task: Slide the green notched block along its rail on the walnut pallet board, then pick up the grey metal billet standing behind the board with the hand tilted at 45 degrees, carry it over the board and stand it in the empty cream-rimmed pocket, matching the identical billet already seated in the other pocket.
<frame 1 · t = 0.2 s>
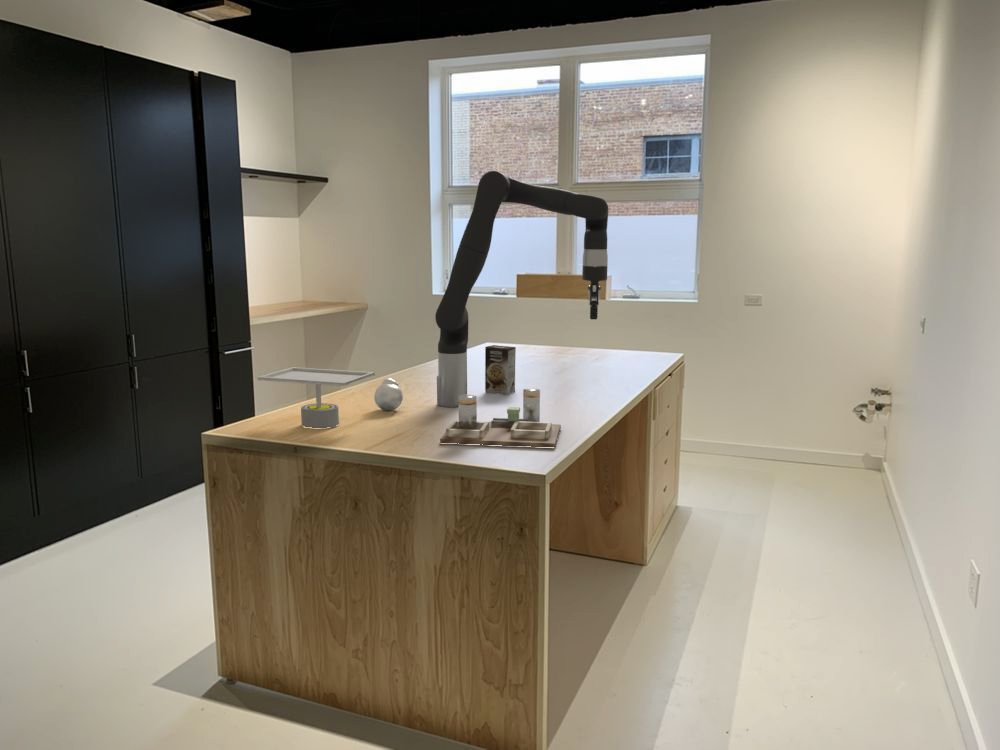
hand: (593, 317, 230), 29 cm above the table, tool pointing down, fingers open, 8 cm apart
grey rounded lump: (389, 410, 235), on the table
green notched block: (513, 416, 209), point 4 cm above the table, slide at 0.0 cm
solar panel model: (319, 426, 215), on the table
seated billet: (467, 432, 201), resting on pallet
coffee box: (500, 392, 262), on the table
pallet: (502, 436, 203), on the table
billet: (531, 423, 218), on the table
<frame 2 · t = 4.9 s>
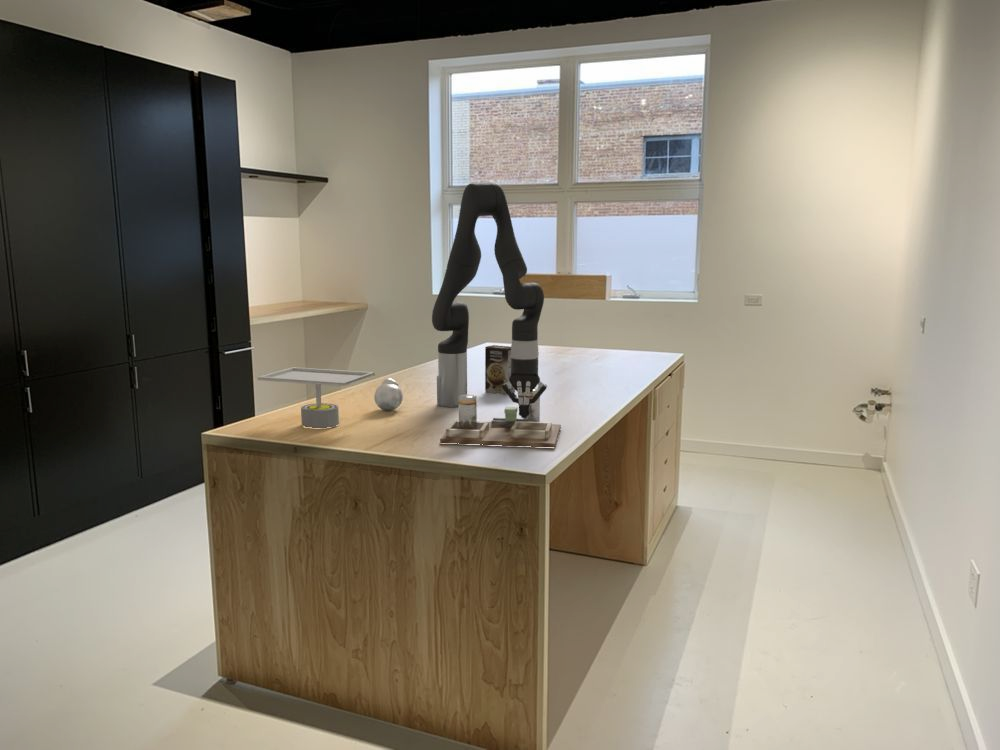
hand: (524, 417, 209), 4 cm above the table, tool pointing down, fingers closed
green notched block: (510, 416, 209), point 4 cm above the table, slide at 0.7 cm, touching gripper
everything else where it was.
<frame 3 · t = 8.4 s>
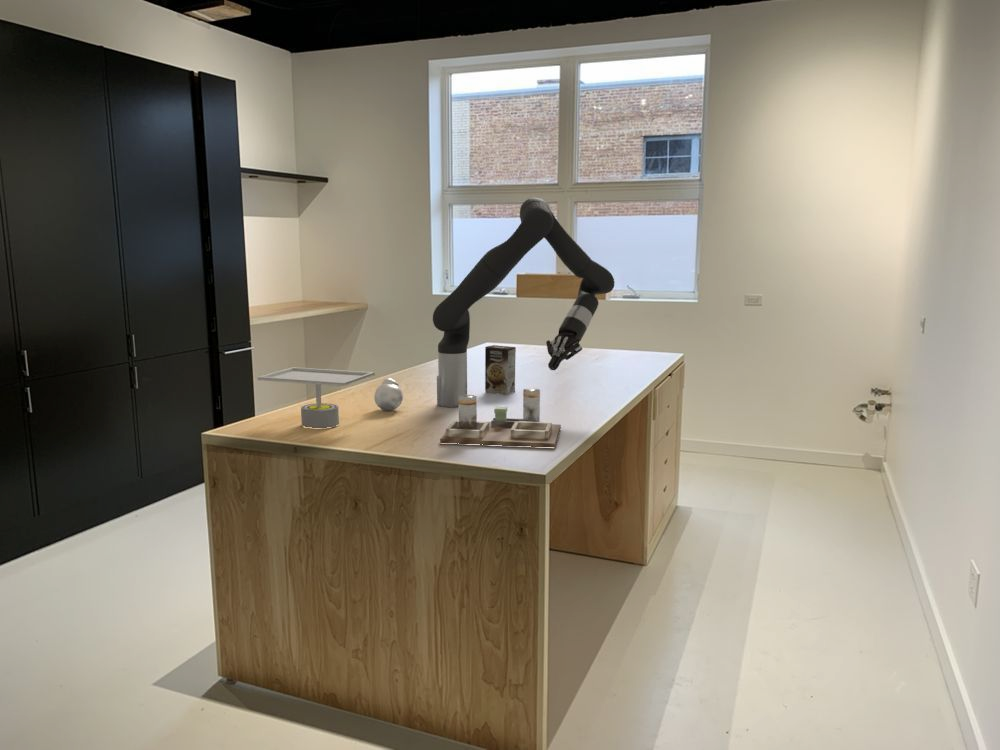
hand: (551, 368, 222), 15 cm above the table, tool tilted 45°, fingers closed
green notched block: (500, 416, 209), point 4 cm above the table, slide at 3.6 cm
everything else where it was.
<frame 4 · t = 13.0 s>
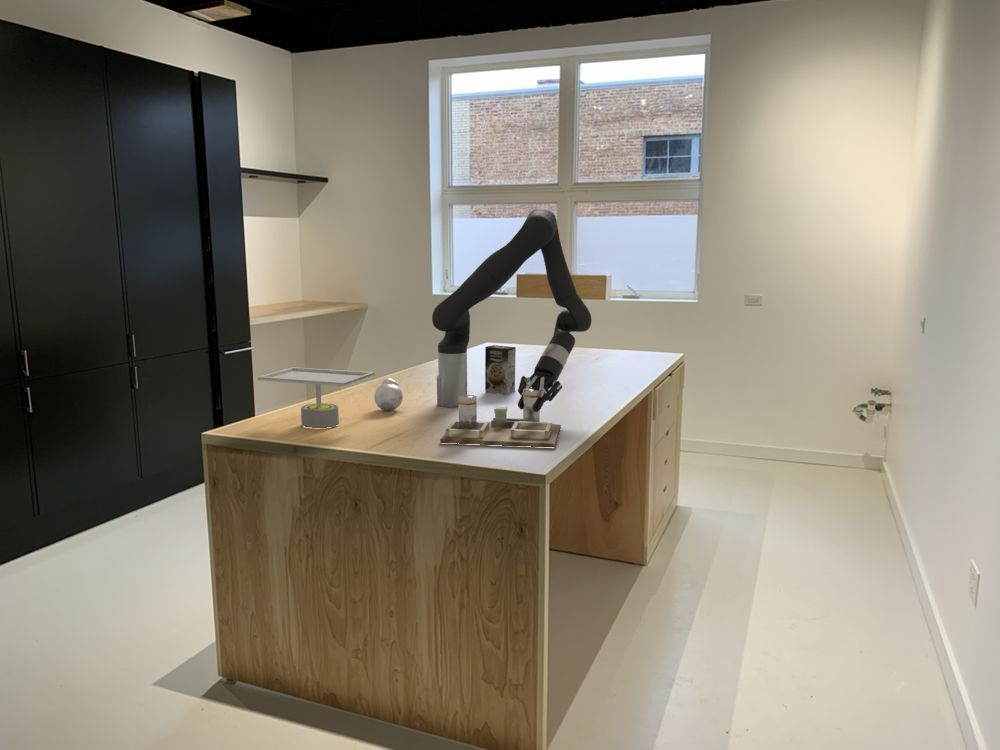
hand: (527, 408, 215), 5 cm above the table, tool tilted 45°, fingers closed on billet, 4 cm apart
billet: (531, 423, 218), on the table, touching gripper
everything else where it was.
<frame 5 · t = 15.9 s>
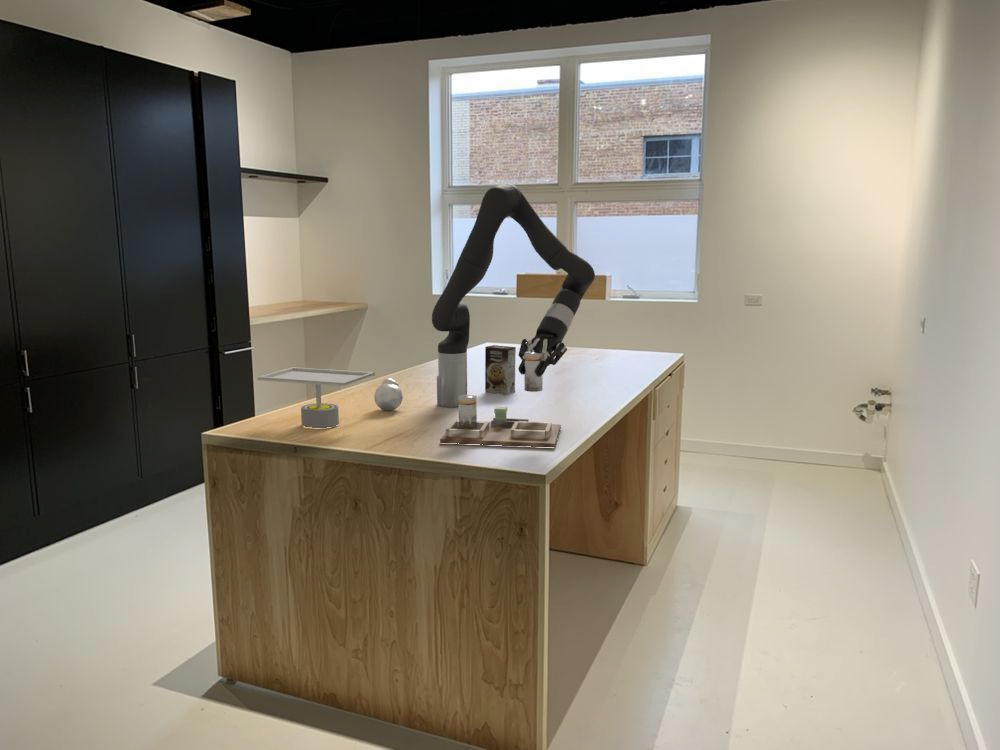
hand: (529, 373, 197), 18 cm above the table, tool tilted 45°, fingers closed on billet, 4 cm apart
billet: (533, 389, 199), point 13 cm above the table, touching gripper
everything else where it was.
when the fingers open (7 cm above the table, at t = 18.5 s): billet stays where it is, resting on pallet.
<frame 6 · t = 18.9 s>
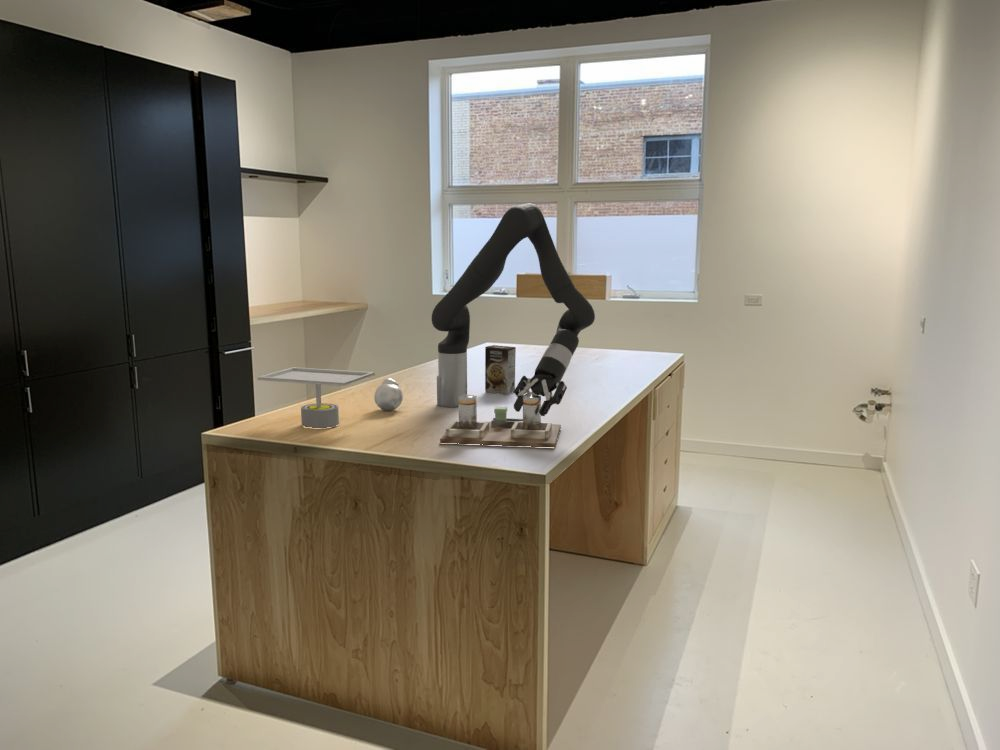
hand: (528, 412, 198), 8 cm above the table, tool tilted 45°, fingers open, 8 cm apart
billet: (531, 433, 201), point 2 cm above the table, touching pallet
everything else where it was.
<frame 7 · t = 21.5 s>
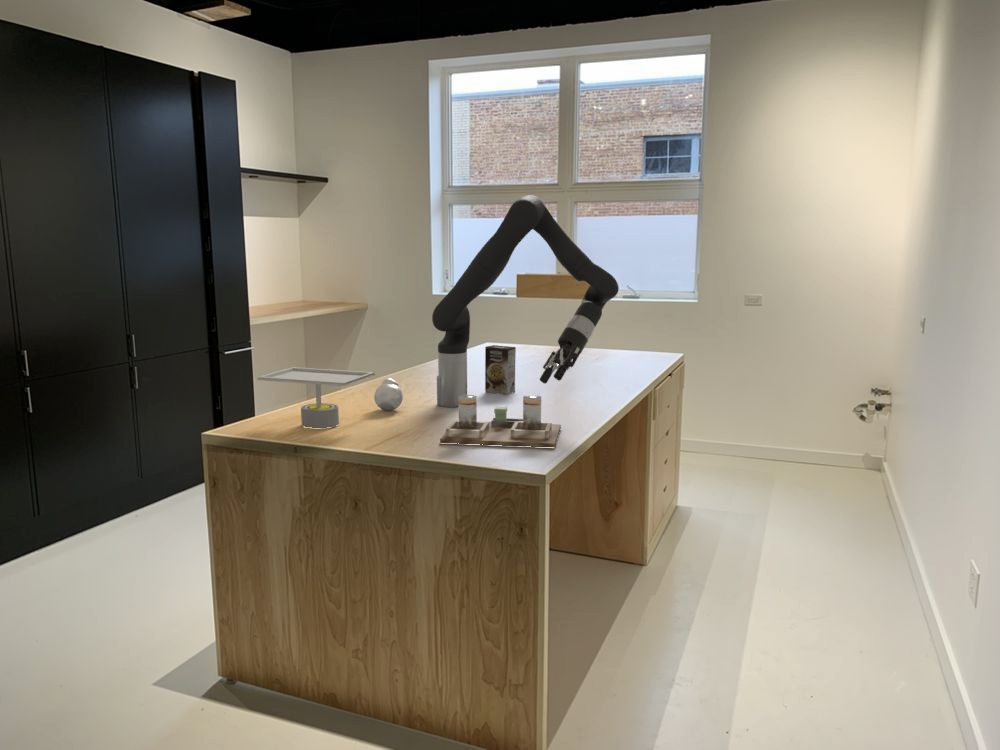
hand: (549, 380, 209), 14 cm above the table, tool tilted 45°, fingers open, 8 cm apart
nothing on the table moved.
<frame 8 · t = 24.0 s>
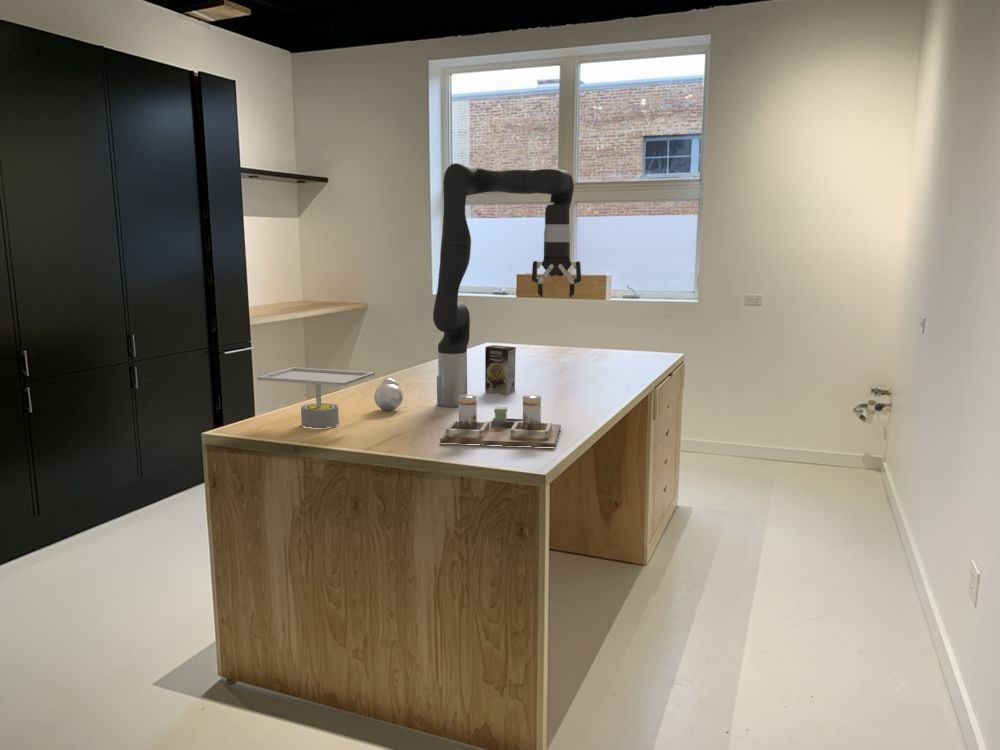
hand: (556, 296, 219), 36 cm above the table, tool pointing down, fingers open, 8 cm apart
nothing on the table moved.
at the end: billet 0.2 cm from the target spot on the pallet, point 1.5 cm above the pallet's base; billet tilted 1°; green notched block slide at 3.6 cm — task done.
